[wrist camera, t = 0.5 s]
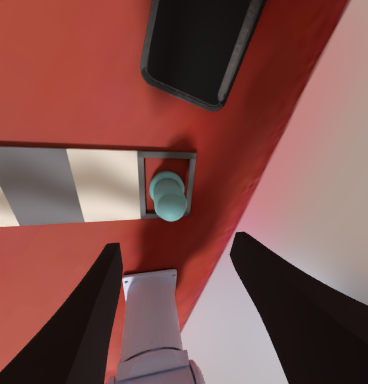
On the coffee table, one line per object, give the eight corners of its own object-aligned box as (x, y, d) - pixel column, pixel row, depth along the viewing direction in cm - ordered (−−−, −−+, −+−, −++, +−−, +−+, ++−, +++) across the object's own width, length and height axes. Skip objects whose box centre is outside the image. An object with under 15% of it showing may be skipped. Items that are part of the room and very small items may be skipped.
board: (188, 214, 20) (189, 216, 20) (-52, 227, 15) (-57, 230, 15) (195, 152, 17) (196, 153, 16) (-117, 141, 12) (-125, 142, 11)
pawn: (181, 200, 19) (192, 231, 14) (149, 201, 18) (150, 234, 14) (184, 170, 18) (197, 194, 13) (148, 170, 17) (149, 195, 12)
